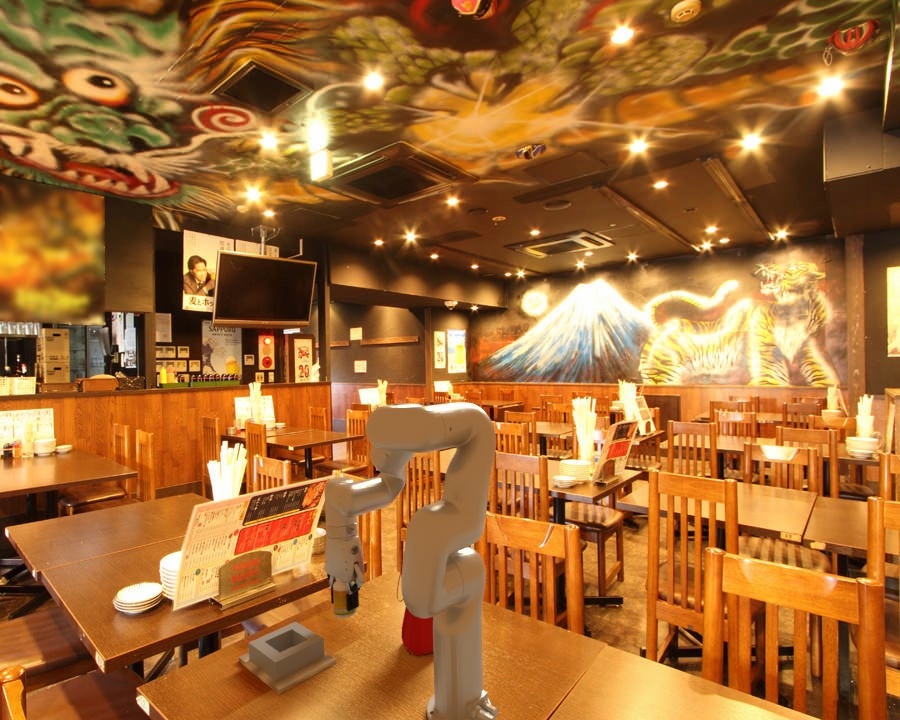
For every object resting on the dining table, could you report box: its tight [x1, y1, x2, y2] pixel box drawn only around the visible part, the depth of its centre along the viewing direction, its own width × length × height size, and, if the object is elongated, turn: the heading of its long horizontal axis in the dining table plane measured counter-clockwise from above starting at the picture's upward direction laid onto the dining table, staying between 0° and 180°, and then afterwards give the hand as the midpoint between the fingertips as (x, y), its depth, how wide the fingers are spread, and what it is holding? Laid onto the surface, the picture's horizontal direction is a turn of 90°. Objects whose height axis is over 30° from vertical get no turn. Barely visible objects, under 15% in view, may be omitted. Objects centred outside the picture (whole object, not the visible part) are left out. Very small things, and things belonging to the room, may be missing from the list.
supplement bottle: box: [333, 576, 358, 619], centre depth 123 cm, size 5×5×10 cm
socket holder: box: [248, 621, 325, 681], centre depth 116 cm, size 12×12×4 cm
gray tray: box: [238, 646, 337, 695], centre depth 116 cm, size 18×14×1 cm
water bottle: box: [396, 561, 434, 657], centre depth 121 cm, size 9×11×25 cm
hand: (345, 604), depth 123 cm, fingers closed on supplement bottle, 5 cm apart
